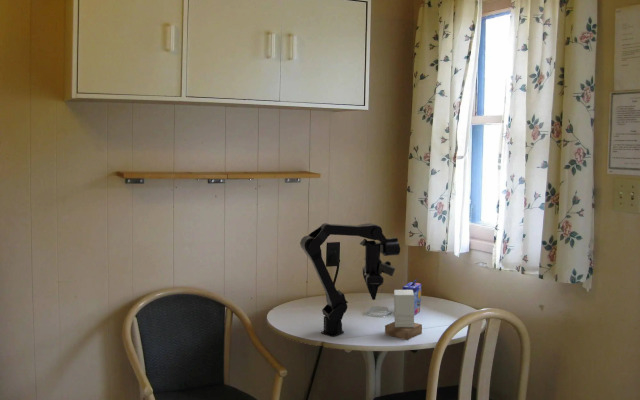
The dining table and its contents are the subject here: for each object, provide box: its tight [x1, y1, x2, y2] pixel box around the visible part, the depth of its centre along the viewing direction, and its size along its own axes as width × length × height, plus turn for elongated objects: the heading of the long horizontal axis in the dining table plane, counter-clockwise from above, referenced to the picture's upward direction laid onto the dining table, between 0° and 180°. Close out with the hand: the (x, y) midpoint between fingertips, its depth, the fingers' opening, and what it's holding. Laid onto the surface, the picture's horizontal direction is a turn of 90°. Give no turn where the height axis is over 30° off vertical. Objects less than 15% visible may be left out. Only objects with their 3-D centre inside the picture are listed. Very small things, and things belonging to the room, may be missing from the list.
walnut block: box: [384, 321, 423, 341], centre depth 235 cm, size 10×10×4 cm
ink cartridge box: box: [402, 278, 422, 316], centre depth 262 cm, size 10×6×14 cm, turn 152°
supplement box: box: [393, 289, 415, 327], centre depth 234 cm, size 7×7×13 cm
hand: (372, 296), depth 239 cm, fingers open, 9 cm apart
